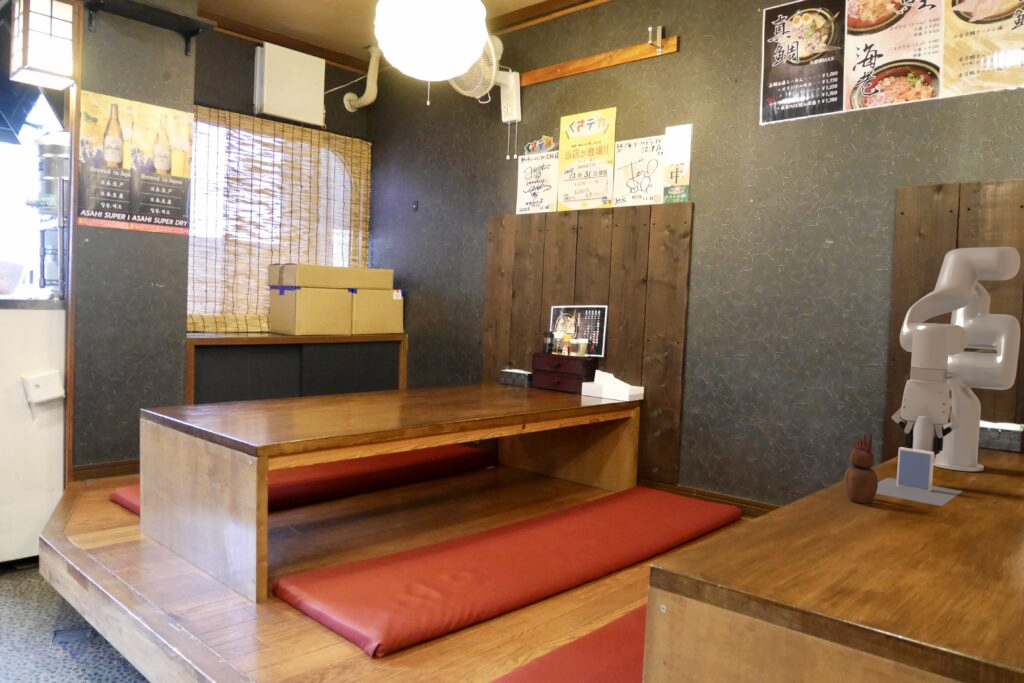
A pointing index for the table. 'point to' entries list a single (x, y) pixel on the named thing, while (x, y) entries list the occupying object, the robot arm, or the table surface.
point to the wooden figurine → (861, 473)
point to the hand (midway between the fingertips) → (923, 450)
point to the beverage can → (923, 434)
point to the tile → (915, 469)
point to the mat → (916, 493)
